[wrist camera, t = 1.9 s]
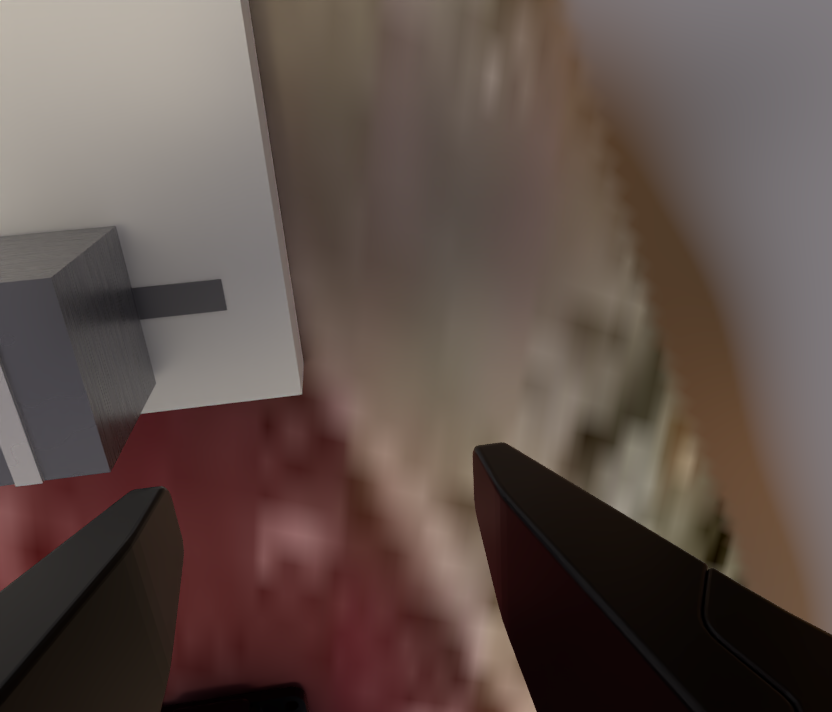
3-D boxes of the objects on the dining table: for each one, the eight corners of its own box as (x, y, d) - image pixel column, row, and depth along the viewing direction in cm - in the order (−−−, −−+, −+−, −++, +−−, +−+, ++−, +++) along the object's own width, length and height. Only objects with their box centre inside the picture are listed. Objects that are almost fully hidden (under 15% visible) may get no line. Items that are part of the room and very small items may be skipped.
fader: (156, 383, 17) (109, 475, 13) (32, 397, 17) (-53, 495, 13) (116, 225, 15) (48, 279, 11) (-23, 238, 15) (-138, 298, 11)
